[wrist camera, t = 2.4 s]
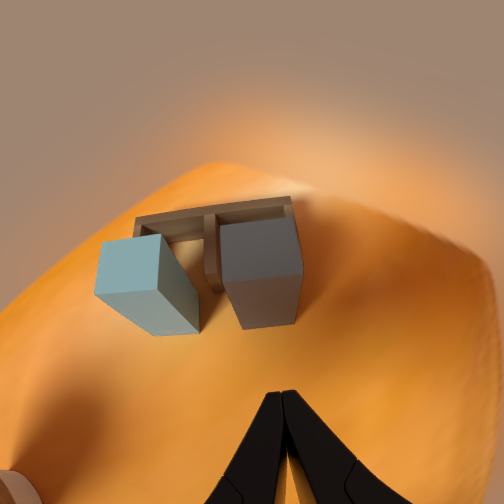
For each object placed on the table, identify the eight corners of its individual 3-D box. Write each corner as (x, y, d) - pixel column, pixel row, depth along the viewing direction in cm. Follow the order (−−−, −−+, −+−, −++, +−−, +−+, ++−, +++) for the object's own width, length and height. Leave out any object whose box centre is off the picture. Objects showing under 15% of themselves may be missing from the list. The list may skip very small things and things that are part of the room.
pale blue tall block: (199, 333, 20) (156, 289, 13) (153, 336, 20) (93, 294, 13) (198, 293, 21) (161, 233, 14) (154, 297, 21) (102, 242, 14)
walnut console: (300, 282, 21) (303, 263, 18) (144, 298, 21) (127, 282, 19) (289, 220, 24) (290, 196, 21) (149, 238, 24) (135, 217, 21)
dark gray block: (294, 323, 19) (303, 273, 12) (242, 329, 20) (222, 282, 13) (288, 283, 21) (292, 217, 14) (239, 289, 21) (220, 225, 14)
